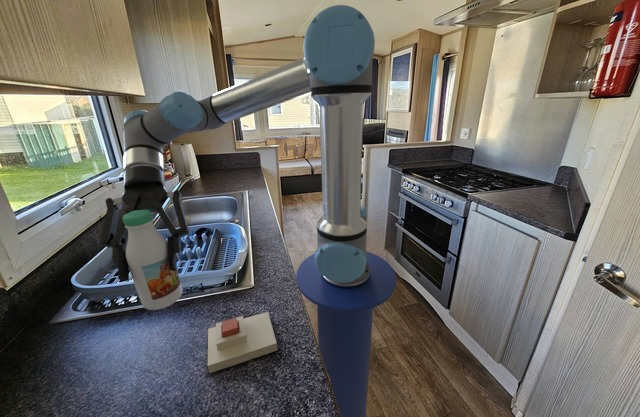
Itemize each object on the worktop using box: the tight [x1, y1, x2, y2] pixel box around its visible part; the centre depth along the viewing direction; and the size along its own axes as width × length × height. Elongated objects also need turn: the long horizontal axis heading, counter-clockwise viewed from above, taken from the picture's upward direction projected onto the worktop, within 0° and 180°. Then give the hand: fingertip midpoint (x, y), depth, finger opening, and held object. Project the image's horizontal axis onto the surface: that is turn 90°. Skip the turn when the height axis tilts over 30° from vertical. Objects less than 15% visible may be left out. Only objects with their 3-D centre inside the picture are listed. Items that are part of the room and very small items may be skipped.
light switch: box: [207, 311, 278, 374], centre depth 59 cm, size 14×10×4 cm
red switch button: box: [221, 317, 239, 338], centre depth 58 cm, size 3×3×2 cm
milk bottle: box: [122, 210, 183, 311], centre depth 53 cm, size 8×8×20 cm
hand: (149, 274), depth 50 cm, fingers closed on milk bottle, 8 cm apart
